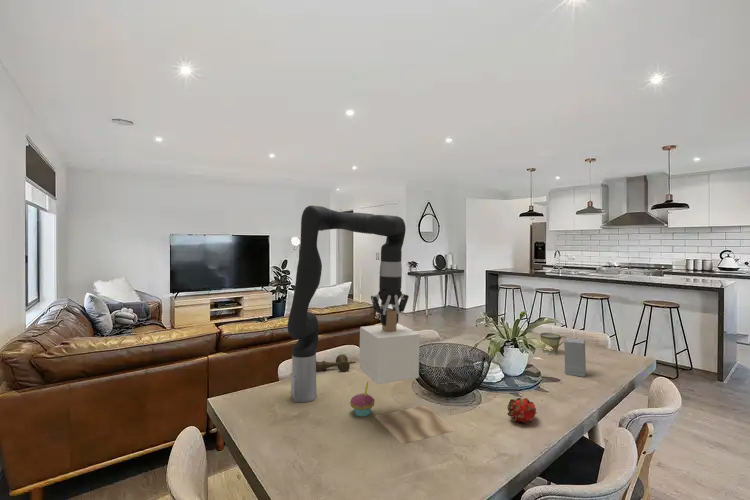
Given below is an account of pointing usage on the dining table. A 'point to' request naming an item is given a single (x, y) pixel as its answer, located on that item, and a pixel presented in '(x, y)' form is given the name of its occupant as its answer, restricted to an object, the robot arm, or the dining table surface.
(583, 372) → the skincare box
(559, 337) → the ceramic cup
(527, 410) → the dragon fruit
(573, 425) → the dining table surface
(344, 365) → the kendama
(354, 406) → the cupcake
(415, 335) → the white cube with peg
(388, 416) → the mat
